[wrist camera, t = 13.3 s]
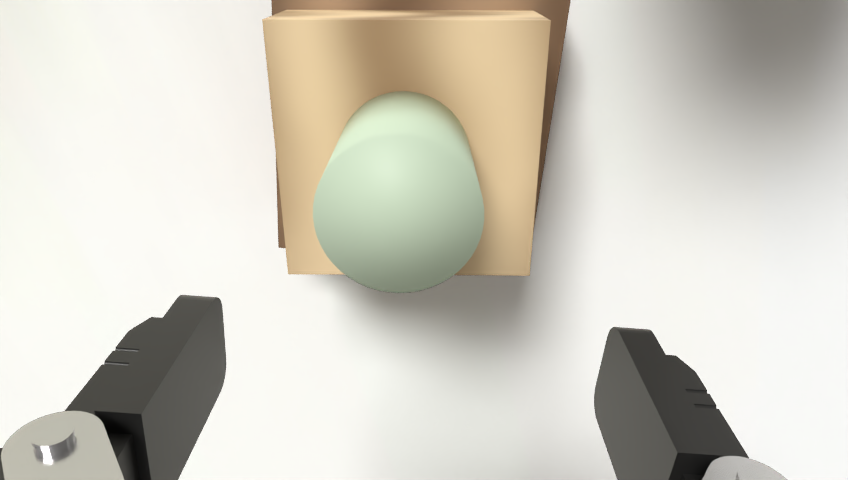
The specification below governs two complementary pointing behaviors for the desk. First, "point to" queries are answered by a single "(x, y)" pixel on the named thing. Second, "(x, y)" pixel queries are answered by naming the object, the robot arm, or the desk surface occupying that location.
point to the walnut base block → (548, 3)
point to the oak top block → (422, 73)
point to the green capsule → (400, 195)
